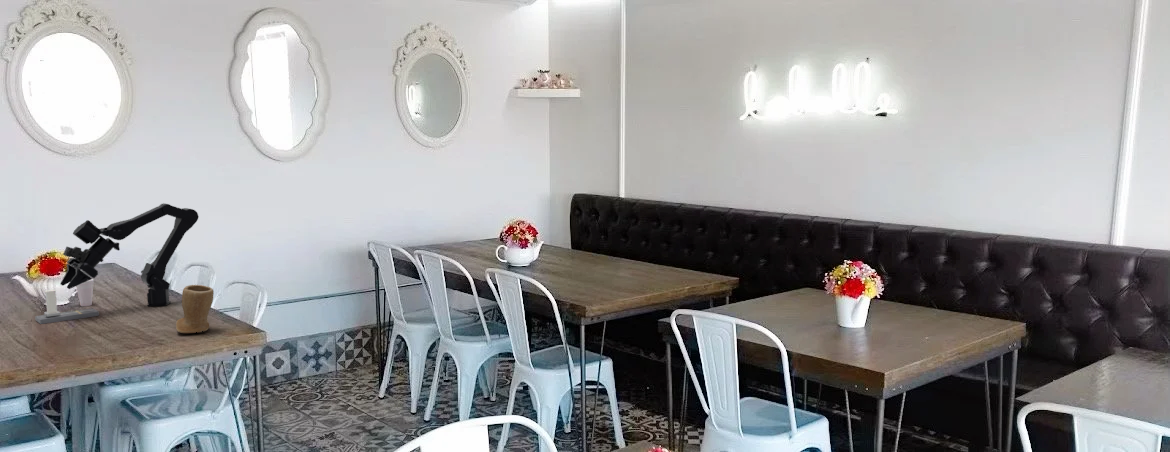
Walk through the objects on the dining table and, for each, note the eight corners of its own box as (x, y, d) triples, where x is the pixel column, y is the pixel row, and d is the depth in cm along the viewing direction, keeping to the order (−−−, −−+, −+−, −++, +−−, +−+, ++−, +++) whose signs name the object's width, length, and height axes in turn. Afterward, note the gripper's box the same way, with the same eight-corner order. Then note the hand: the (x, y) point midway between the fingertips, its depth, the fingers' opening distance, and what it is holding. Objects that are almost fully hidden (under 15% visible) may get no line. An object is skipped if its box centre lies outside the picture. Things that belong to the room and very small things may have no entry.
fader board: (93, 312, 312) (92, 307, 312) (99, 315, 306) (98, 311, 306) (35, 320, 300) (35, 315, 299) (40, 324, 294) (40, 319, 294)
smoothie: (89, 306, 321) (86, 270, 320) (72, 307, 321) (69, 270, 320) (99, 303, 328) (96, 267, 326) (82, 303, 328) (79, 267, 326)
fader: (57, 312, 303) (55, 288, 302) (60, 314, 299) (58, 290, 298) (44, 314, 300) (42, 290, 299) (47, 316, 296) (45, 292, 295)
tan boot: (216, 333, 278) (213, 287, 276) (175, 337, 273) (172, 291, 271) (215, 323, 291) (212, 280, 289) (176, 327, 287) (173, 283, 285)
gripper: (71, 235, 310) (38, 269, 304) (85, 240, 296) (50, 275, 290) (97, 254, 316) (65, 288, 310) (111, 260, 303) (78, 295, 296)
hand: (64, 286), depth 301 cm, fingers open, 9 cm apart
